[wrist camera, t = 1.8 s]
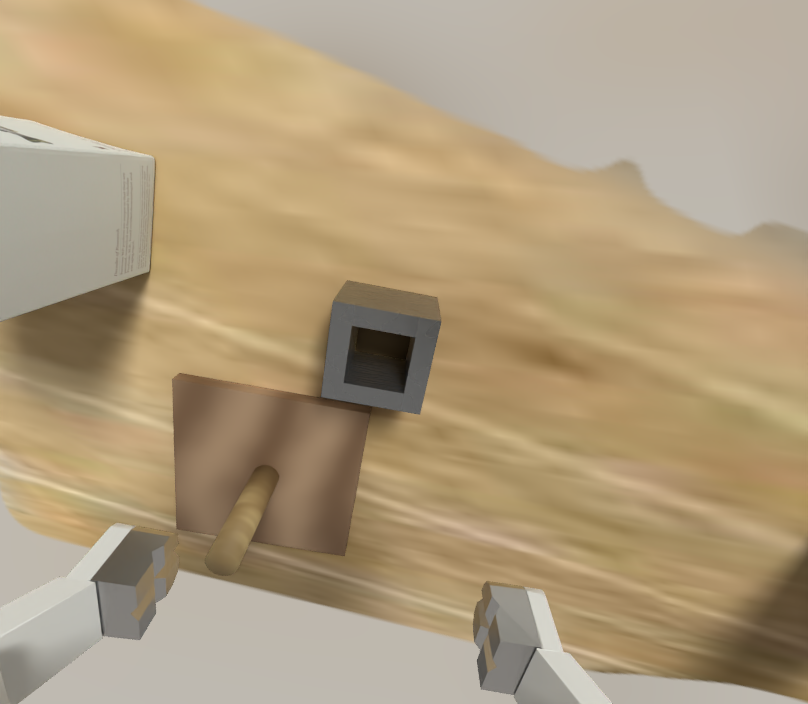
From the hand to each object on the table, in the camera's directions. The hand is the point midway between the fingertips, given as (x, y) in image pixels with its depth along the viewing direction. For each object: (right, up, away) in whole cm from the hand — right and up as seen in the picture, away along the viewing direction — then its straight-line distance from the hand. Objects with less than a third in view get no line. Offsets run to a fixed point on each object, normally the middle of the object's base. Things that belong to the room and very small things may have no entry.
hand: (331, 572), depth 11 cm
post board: (-9, -3, +22) cm, 24 cm away
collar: (+1, +7, +18) cm, 19 cm away
